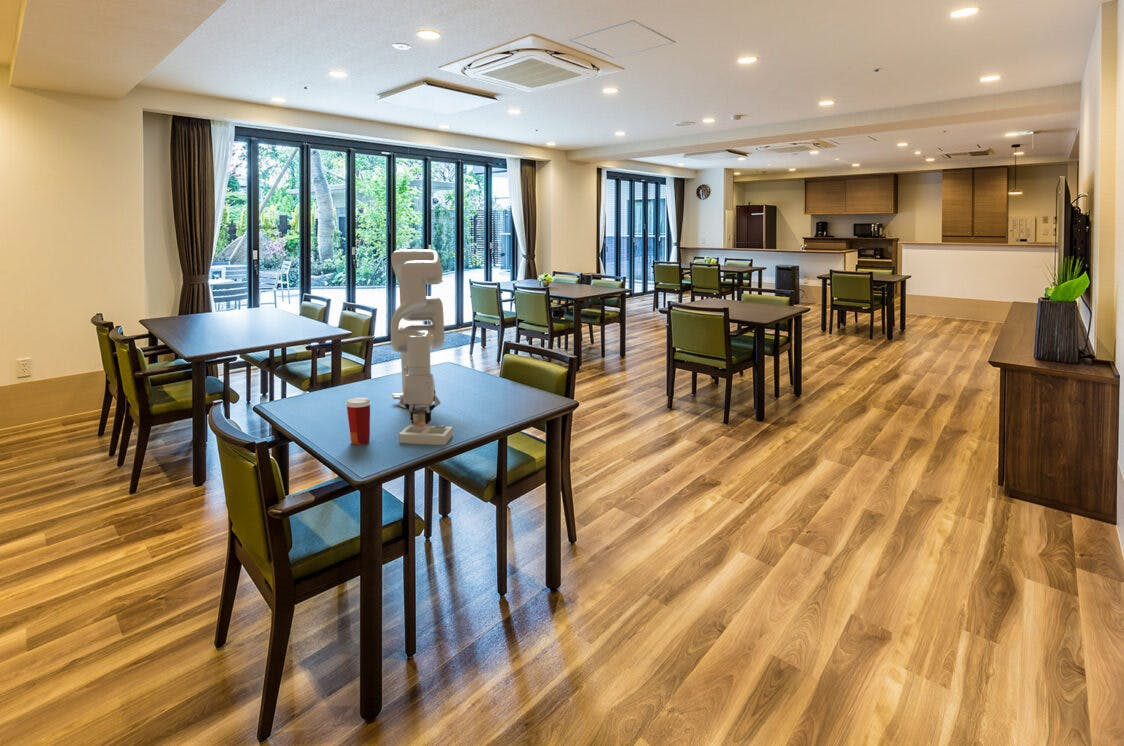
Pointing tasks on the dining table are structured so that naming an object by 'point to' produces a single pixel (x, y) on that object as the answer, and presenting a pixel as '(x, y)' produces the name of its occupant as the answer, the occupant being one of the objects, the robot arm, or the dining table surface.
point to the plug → (419, 416)
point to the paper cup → (359, 420)
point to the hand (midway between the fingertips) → (420, 422)
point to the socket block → (426, 434)
